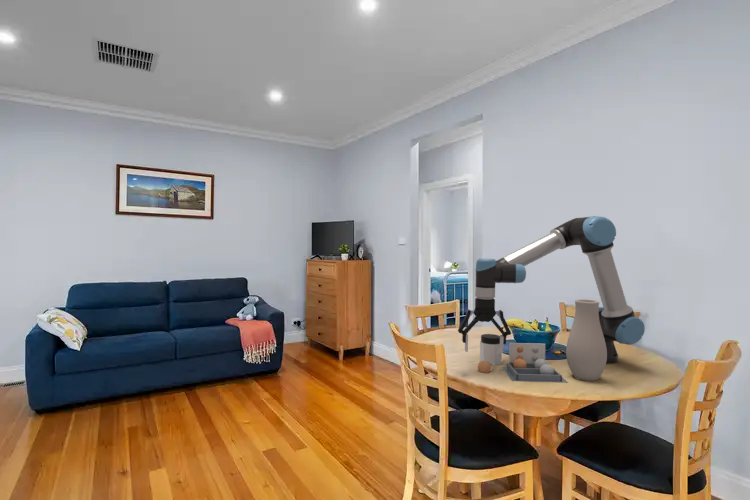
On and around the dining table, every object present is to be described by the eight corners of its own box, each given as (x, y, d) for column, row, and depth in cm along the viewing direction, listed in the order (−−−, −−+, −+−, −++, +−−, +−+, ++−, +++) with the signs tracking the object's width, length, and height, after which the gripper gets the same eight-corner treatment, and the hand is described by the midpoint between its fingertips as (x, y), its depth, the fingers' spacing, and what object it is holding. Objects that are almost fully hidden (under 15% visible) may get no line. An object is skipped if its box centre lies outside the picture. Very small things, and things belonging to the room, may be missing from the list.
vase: (575, 385, 150) (576, 303, 150) (560, 373, 164) (561, 298, 164) (613, 386, 150) (615, 303, 149) (595, 374, 164) (596, 298, 163)
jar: (491, 368, 170) (491, 339, 170) (476, 363, 177) (476, 335, 177) (505, 364, 175) (505, 336, 175) (490, 360, 182) (490, 333, 182)
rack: (552, 370, 168) (552, 343, 167) (568, 385, 151) (568, 355, 150) (501, 369, 169) (501, 342, 169) (512, 383, 152) (512, 353, 152)
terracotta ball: (524, 369, 166) (524, 356, 166) (528, 373, 161) (528, 360, 161) (511, 369, 166) (512, 356, 166) (515, 373, 161) (515, 360, 161)
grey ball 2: (551, 375, 158) (551, 362, 158) (556, 380, 153) (556, 366, 153) (537, 375, 159) (538, 362, 159) (542, 379, 154) (542, 366, 154)
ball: (489, 371, 166) (489, 359, 166) (492, 375, 161) (492, 363, 161) (476, 371, 166) (476, 359, 166) (479, 375, 161) (479, 362, 161)
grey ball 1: (545, 369, 165) (545, 357, 165) (549, 374, 160) (549, 361, 160) (532, 369, 166) (532, 357, 166) (536, 373, 161) (536, 360, 161)
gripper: (515, 297, 166) (513, 350, 166) (451, 295, 168) (450, 348, 168) (520, 300, 158) (518, 355, 159) (454, 298, 160) (452, 352, 161)
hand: (483, 351), depth 164 cm, fingers open, 13 cm apart
